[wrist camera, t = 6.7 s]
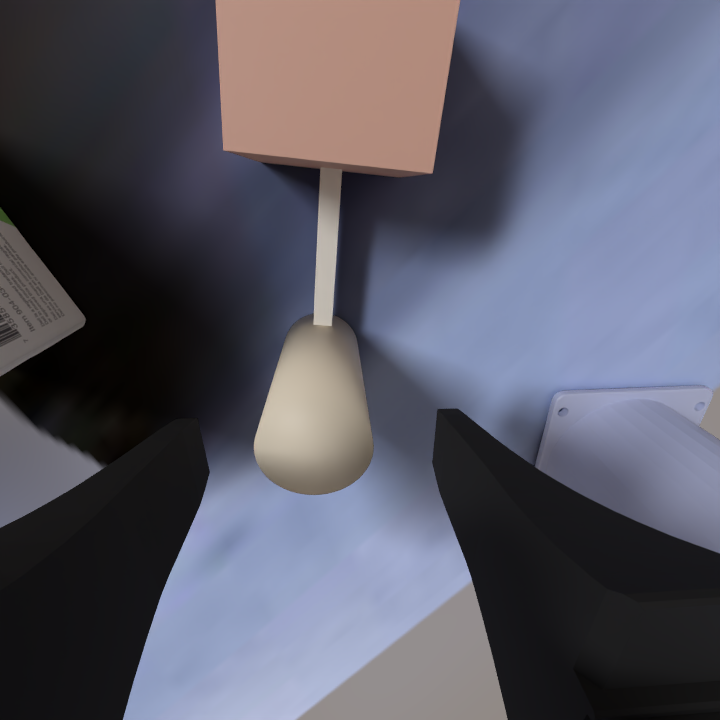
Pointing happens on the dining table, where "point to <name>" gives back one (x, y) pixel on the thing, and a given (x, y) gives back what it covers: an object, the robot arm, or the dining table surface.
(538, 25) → the dining table surface
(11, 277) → the ink box
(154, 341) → the dining table surface
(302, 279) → the dining table surface
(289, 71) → the pink handled block
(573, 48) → the dining table surface
